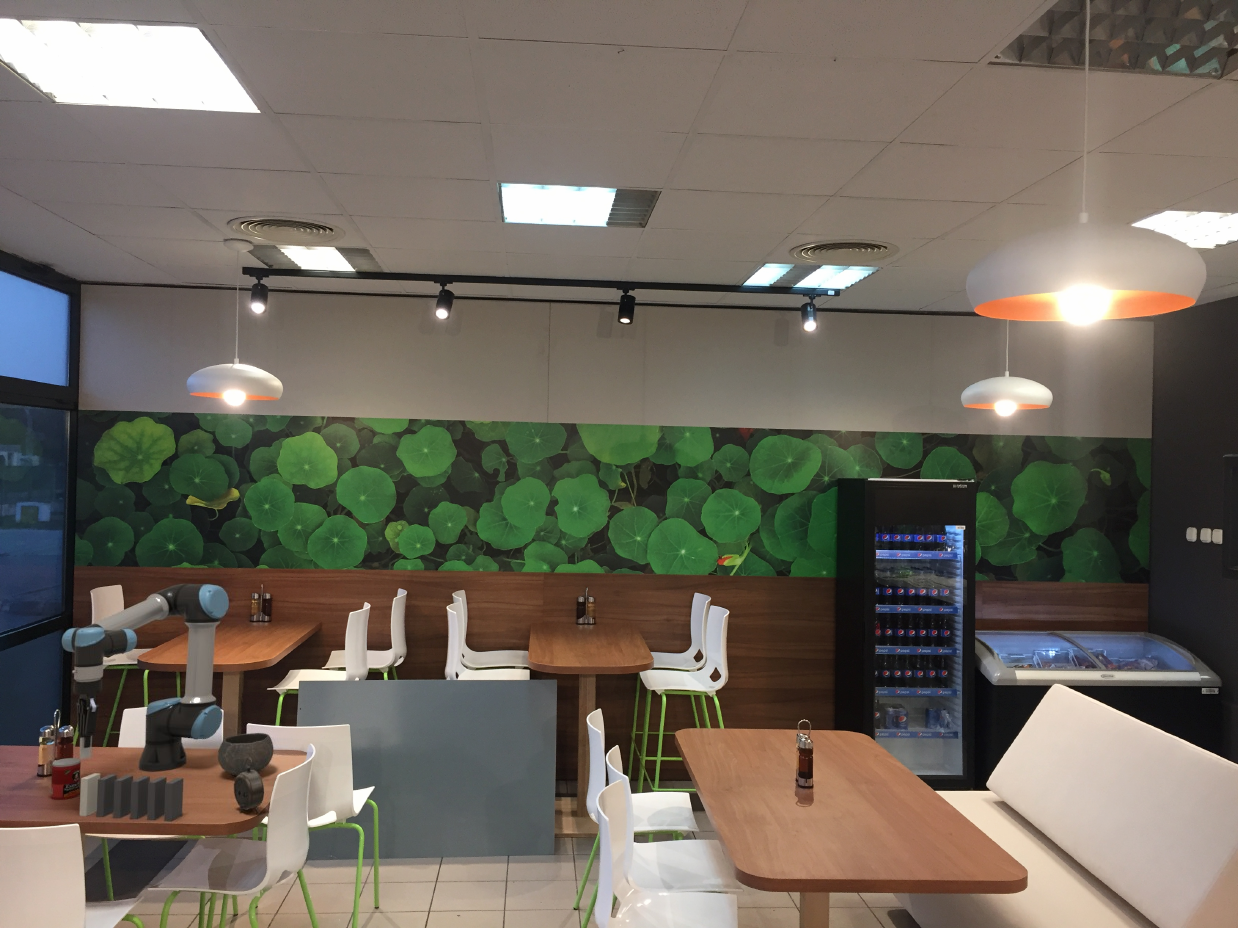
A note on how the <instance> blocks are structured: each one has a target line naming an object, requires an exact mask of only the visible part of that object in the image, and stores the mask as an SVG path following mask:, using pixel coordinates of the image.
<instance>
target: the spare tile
mask: <svg viewBox="0 0 1238 928" xmlns="http://www.w3.org/2000/svg"><path fill="white" fill-rule="evenodd" d="M100 778H101V773H91V774H89V775H87V776H84V777H80V792H79V793H80V799H79V816H80V817H88V816H90V815H92V814H95V813H97V790H98V779H100Z"/></svg>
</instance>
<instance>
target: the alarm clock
mask: <svg viewBox="0 0 1238 928" xmlns="http://www.w3.org/2000/svg"><path fill="white" fill-rule="evenodd" d="M247 759H250V761H251V767H252V760H251V758H247ZM247 759H246V762H247ZM246 767H247V763H246ZM251 767H247V771H246V772H243V773H240V774H239V775H238V776H235V779H234V783H233V793H234V794H233V796H234V798H235V800H236V803H237V804H238V806H239V807H240V810H239V814H241V813H242V811H243V810H246V811H247V810H251V809H254V810H255V814H257V815H258V814H259V811H258V807H260V806H261V804H262V803H263V801H264V798H265V797H264V796H265V788H264V783H263V782H264V781H263V780H262V777H261V775H260V773H259V772H257V771H255V770H250V768H251Z"/></svg>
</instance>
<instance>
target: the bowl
mask: <svg viewBox="0 0 1238 928" xmlns="http://www.w3.org/2000/svg"><path fill="white" fill-rule="evenodd" d="M274 750H275V749H274V743H273V741H272V737H271V736H270V735H269V734H268V733H265V732H264V733H263V732H252V733H242V734H236V735H230V736H227V737H226V738H225V737H224V739H223V740H222V742H221V743H220V745H219V749H218V753H217V760H218V763H219V765H220V766H219V767H220V768H222V770H223V771H224V772H226V773H227V774H230V775H232V776H235V777H237V776H238V775H239V774H240V773H243V772H246V771H247V767H251V761H250V759H247V758H251V760H252V767H251V768H250V770H255V771H257V772H258V773H259V772H262V771H263V770H264V769H265V768H266V767H267V766H268V765H269V764H270V763H271V761H272V758H273V756H274ZM246 759H247V762H246ZM246 763H247V767H246Z"/></svg>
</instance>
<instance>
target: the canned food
mask: <svg viewBox="0 0 1238 928" xmlns="http://www.w3.org/2000/svg"><path fill="white" fill-rule="evenodd" d="M81 761H82V760H81V759H80V758H77V757H69V758H68V757H67V758H62V759H61V758H60V759H57V760H54V761H53V762H52V764H51V783H50V784H51V785H50V797H51V799H52V800H55V801H62V800H63V801H65V800H69V799H73V798H75V797H77V796H79V793H80V790H81V765H82V764H81Z"/></svg>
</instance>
